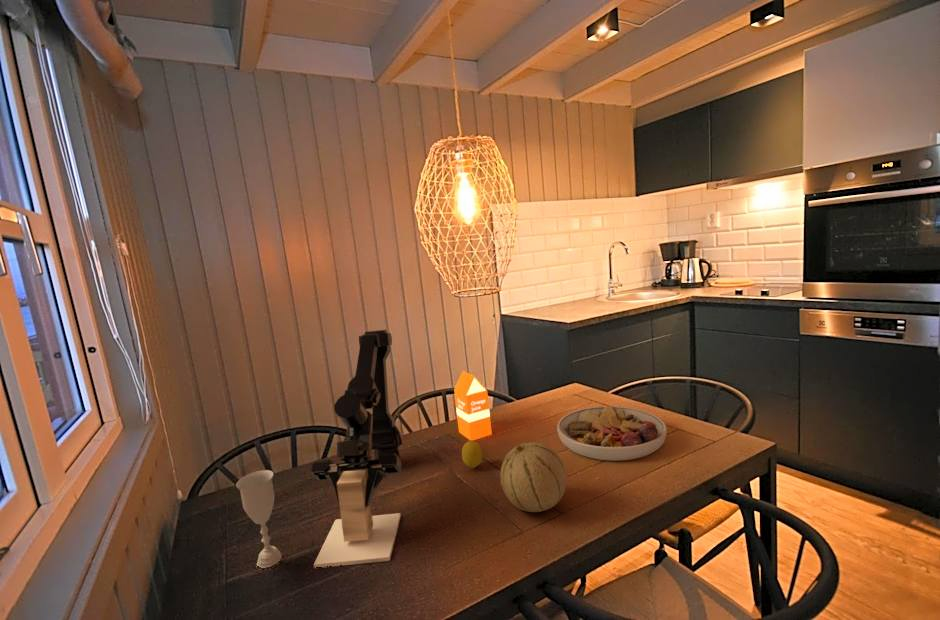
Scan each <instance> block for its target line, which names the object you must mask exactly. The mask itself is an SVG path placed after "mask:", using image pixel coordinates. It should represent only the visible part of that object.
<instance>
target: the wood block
mask: <svg viewBox="0 0 940 620" xmlns="http://www.w3.org/2000/svg"><path fill="white" fill-rule="evenodd" d="M367 482H368V470H356V471H343V473H342V475H341V477H340V479H339V480H338V482H337V490H338V498H339V504H338V507H339V506H340V508H339V512H340V519H341V521H342V529H343V536H344V542H347V541H362V540H368V539H369V536H370V533H371V530H372V527H373V519H372V516H373V513H372V504H371V502H370V504H369V506H368V507H366V506H365V498H366V490H367Z"/></svg>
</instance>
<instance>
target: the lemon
mask: <svg viewBox="0 0 940 620" xmlns="http://www.w3.org/2000/svg"><path fill="white" fill-rule="evenodd" d="M463 444H464V445H463V446H462V449H461V459H462V461H463V463H464V464H465V465H466V466H467V467H469V468H472V469H476V467H478V466H479V465H480V464H481V462H482V460H483V450H482V447H481V445H480V444H479V443H478V442H477V441H476V440H473V441H472V440H468V441H467V442H466V443H463Z"/></svg>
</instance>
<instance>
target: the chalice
mask: <svg viewBox="0 0 940 620" xmlns="http://www.w3.org/2000/svg"><path fill="white" fill-rule="evenodd" d="M273 476H274V472H273V471H272V470H269V469H266V470H265V469H263V470H262V469H261V470H257V471H252V472H251V473H249V474H246V475H244V476H242V477H240V479H238V481H237V482H236V483H235V484H236V485H235V486H236V488H237V489H238V490H239V492H240V498H241V503H242V508H243V510H244V512H245V514H247V516H248V517H249V518H250V519H251V520H252V521H253V522H254V523H255V524H256V525H260V534H261V535H262V538H261V543H263V545H264V547H263V549H262V550H261V551H260V552H259V554H258V558H257V562H256V565H257V566H259V567H261V568H266V567H270V566H272V565H274V564H276V563H277V562H278V561H280V559H281V557H282V555H283V554H282V553H281V552H280V550H278V548H277V547H276V546H274V545H270V539H271V536H269V535H268V534H269V533H268V531H269V528H268V527H267V525H266V523H267V522H268V521H269V520H270V518H271V515H272V511H273V508H274V503H275V497H276V496H275V491H274V485H273V478H274V477H273ZM281 554H282V555H281ZM257 566H256V567H257Z"/></svg>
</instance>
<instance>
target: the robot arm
mask: <svg viewBox="0 0 940 620" xmlns="http://www.w3.org/2000/svg"><path fill="white" fill-rule="evenodd" d="M358 344H359V350H358V356H357V363H356V369H355V375H354V376H353V378H352V379H351V380H350V381H349V382H348V384H347V389H345V390H344V393H343V395H341V396H339V398H338V399H337V400H336V401H335V404H334V406H333V407H334V409H333V410H334V412H335V414H336V415H337V417H338V418H339V419H340V421H341V422H342V424H343V425H344V426H345V427H346V432H345V433H346V435H345V436H344V438H343V440H342V441H336V458H338V459H340V461H341V462H343V463H334V462H333V461H332V460H331V458H326V459H317V460H314V461H312V463H311V464H310V470H309V474H310V475H312V476H313V477H314V478H315V479H317V481H329V482H331V483H332V485H333V488H334V491H335V494H336V495H335V496H336V498H337V503H338V508H339V509H340V506H339V498H338V490H337V482H338V480H339V479H340V477H341V475H342V473H343V471H356V470H367V477H368V482H367V490H366V498H365V506H366V507H368V506H369V504H370V502H371V501H372V499H373V496H374V495H375V492H376V490H377V489H378V486H380V483H381V481H383V479H385V478H387V477H388V476H387V475H389V474H399V473H401V472H402V465H403V464H404V460H402V459H401V458H400V451H399V449H398V448H399V447H400V446H401V445H403V438H402V434H401V432H400V429H399V427H398V426H397V425H396V420H395V418H394V416H393V415H392V414H391V412H390V409H389V396H388V395H389V391H388V376H387V365H386V364H387V359H388V357H389V355H390V353H391V349H392V348H391V346H392V345H393V337H392V334H391V332H388V331H387V329H381V330H370V331H365V332H364V334H362V335H358ZM371 409H372V410H371ZM368 410H371V411H372V412H370V411H368ZM372 450H373V451H374V458H375V459H372V458H371V457H372Z"/></svg>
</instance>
